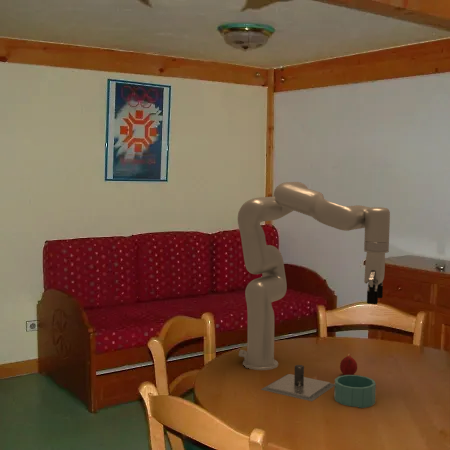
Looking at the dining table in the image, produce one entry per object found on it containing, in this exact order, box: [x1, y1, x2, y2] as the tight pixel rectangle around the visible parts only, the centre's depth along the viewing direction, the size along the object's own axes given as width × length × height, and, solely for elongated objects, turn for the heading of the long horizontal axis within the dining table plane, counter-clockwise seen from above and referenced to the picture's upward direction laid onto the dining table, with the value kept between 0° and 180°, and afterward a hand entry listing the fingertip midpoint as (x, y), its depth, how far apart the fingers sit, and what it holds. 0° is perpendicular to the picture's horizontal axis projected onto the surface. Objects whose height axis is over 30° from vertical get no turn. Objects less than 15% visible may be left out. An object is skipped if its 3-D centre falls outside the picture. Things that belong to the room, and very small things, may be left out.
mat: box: [260, 373, 335, 402], centre depth 210 cm, size 18×18×1 cm
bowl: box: [333, 374, 377, 409], centre depth 199 cm, size 12×12×6 cm
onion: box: [339, 353, 358, 376], centre depth 221 cm, size 6×6×8 cm
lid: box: [266, 364, 331, 399], centre depth 210 cm, size 15×15×7 cm
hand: (374, 300), depth 206 cm, fingers open, 9 cm apart
